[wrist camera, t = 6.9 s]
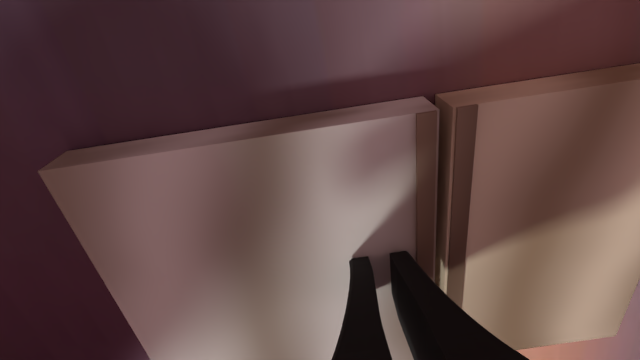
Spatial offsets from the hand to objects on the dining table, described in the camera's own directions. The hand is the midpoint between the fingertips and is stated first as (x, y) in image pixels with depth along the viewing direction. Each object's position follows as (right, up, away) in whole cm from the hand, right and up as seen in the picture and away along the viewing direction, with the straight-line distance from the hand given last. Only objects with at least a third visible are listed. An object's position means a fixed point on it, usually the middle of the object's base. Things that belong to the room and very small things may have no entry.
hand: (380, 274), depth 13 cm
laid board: (+6, +2, +1) cm, 7 cm away
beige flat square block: (-4, 0, +1) cm, 4 cm away
